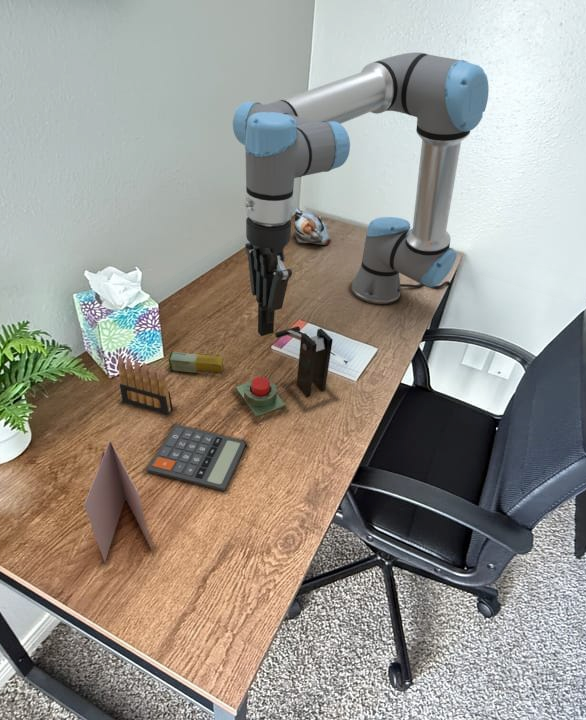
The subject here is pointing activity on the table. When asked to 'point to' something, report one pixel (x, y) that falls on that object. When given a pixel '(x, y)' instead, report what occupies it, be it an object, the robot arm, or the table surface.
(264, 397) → the button block
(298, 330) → the lever
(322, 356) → the bracket
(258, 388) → the button
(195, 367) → the medication box
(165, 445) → the calculator
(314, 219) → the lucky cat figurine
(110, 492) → the greeting card
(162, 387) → the ammunition clip
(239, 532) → the table surface
